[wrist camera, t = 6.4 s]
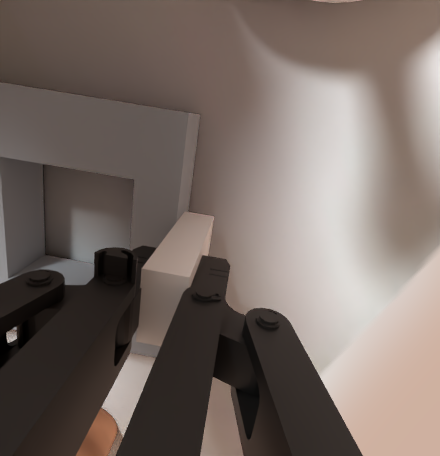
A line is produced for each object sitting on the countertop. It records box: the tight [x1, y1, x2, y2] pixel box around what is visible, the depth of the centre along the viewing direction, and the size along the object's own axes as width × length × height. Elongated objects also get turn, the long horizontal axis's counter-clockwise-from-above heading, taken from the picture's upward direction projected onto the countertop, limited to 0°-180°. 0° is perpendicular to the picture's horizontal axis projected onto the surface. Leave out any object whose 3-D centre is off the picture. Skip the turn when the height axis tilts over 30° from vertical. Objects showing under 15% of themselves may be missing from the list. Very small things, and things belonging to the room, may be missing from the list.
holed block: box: [0, 82, 200, 358], centre depth 16 cm, size 15×12×3 cm
